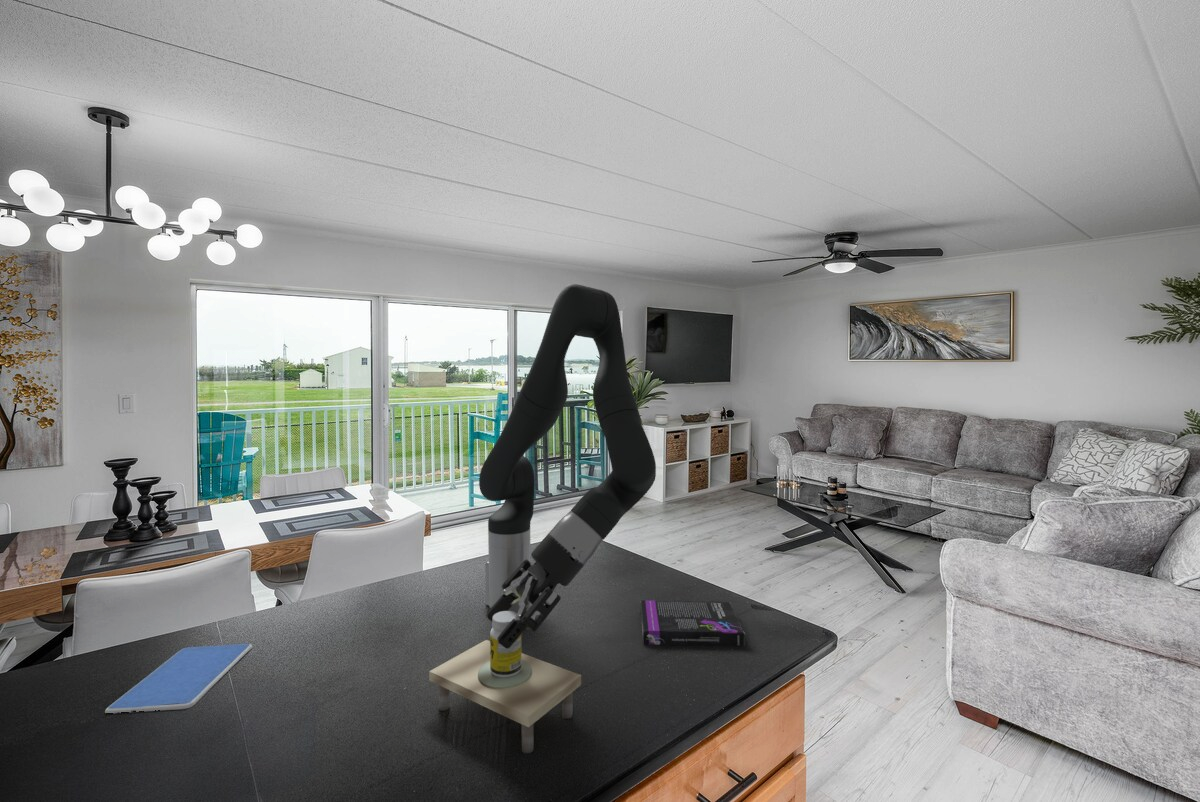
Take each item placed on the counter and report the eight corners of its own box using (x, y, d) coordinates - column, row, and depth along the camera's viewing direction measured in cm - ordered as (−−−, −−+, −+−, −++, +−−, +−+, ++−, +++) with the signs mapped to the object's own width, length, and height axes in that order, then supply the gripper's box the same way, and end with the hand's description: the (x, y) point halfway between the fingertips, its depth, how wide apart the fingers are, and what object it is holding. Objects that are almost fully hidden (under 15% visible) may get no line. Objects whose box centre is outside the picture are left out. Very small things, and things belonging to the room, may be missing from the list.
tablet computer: (190, 712, 85) (190, 703, 84) (101, 718, 83) (100, 709, 83) (254, 649, 104) (254, 642, 104) (182, 653, 102) (182, 646, 102)
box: (642, 649, 105) (745, 649, 104) (642, 631, 104) (745, 631, 104) (640, 615, 119) (731, 615, 118) (640, 599, 118) (731, 599, 117)
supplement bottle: (492, 662, 86) (491, 609, 85) (522, 661, 86) (522, 608, 86) (488, 679, 81) (488, 623, 81) (520, 678, 81) (520, 622, 81)
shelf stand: (429, 709, 84) (429, 668, 84) (486, 673, 94) (486, 637, 94) (528, 760, 73) (528, 713, 73) (581, 713, 83) (581, 672, 83)
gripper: (538, 521, 92) (470, 599, 88) (566, 546, 79) (486, 638, 75) (568, 548, 94) (503, 625, 90) (600, 577, 81) (525, 668, 77)
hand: (495, 631), depth 83 cm, fingers open, 8 cm apart
